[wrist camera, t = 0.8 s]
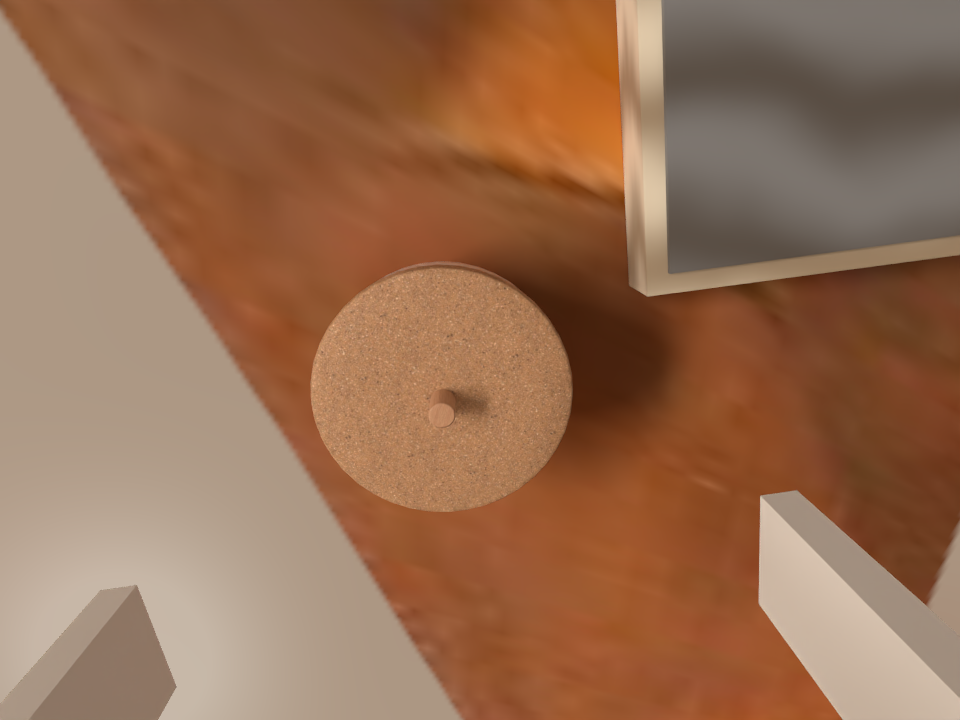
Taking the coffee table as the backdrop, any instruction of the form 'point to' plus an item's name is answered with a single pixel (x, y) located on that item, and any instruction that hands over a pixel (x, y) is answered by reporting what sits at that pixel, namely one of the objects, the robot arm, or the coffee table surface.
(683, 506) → the coffee table surface
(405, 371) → the lidded jar
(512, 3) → the coffee table surface
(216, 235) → the coffee table surface
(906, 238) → the stand
